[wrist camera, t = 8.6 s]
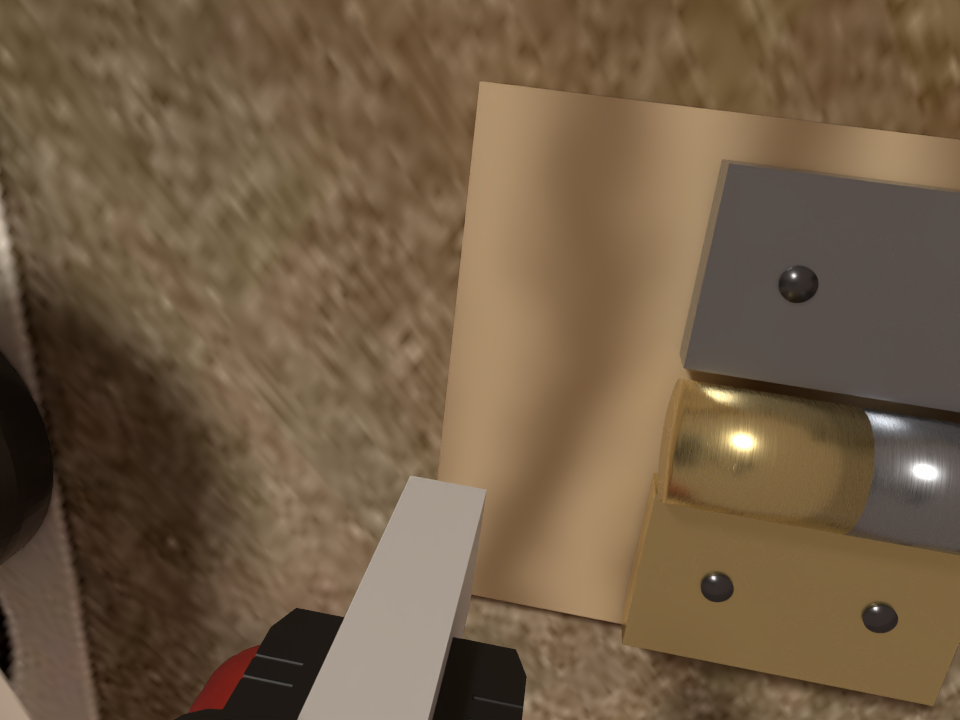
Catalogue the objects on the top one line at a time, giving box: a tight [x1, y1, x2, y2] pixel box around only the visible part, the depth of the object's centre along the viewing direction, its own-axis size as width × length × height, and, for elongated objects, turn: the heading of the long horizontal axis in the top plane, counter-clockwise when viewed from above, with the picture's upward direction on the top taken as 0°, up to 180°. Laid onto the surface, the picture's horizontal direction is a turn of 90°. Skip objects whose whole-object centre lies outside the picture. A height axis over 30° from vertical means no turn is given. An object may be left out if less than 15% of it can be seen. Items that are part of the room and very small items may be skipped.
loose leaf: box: [621, 378, 960, 706], centre depth 27 cm, size 12×12×4 cm
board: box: [437, 81, 960, 624], centre depth 29 cm, size 22×21×1 cm
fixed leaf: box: [679, 159, 960, 556], centre depth 25 cm, size 12×12×4 cm
